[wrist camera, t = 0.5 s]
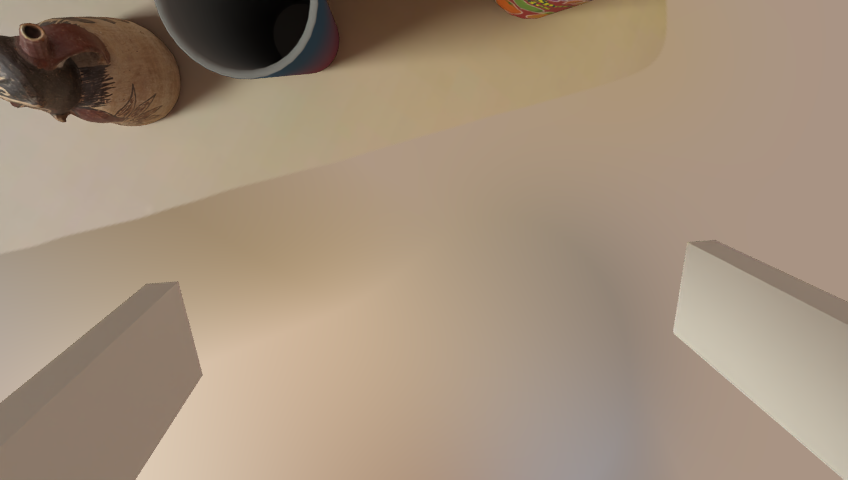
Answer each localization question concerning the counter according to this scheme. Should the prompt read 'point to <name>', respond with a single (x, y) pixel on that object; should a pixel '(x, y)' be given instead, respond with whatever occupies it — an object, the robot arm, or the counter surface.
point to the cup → (253, 35)
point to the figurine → (89, 70)
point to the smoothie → (536, 7)
